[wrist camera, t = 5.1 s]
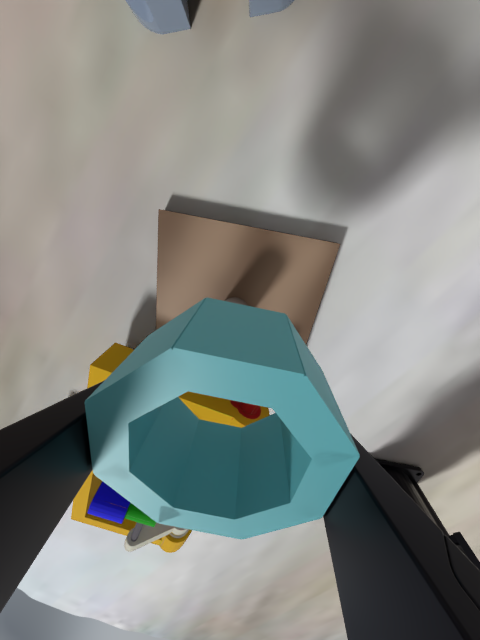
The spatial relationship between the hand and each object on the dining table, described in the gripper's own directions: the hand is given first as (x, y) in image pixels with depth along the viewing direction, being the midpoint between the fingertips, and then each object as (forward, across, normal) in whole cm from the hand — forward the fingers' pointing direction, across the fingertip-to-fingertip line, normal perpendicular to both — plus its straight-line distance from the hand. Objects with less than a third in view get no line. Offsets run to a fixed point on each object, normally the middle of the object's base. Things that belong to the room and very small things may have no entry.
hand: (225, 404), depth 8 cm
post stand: (+11, 0, +1) cm, 11 cm away
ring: (+1, 0, 0) cm, 1 cm away
